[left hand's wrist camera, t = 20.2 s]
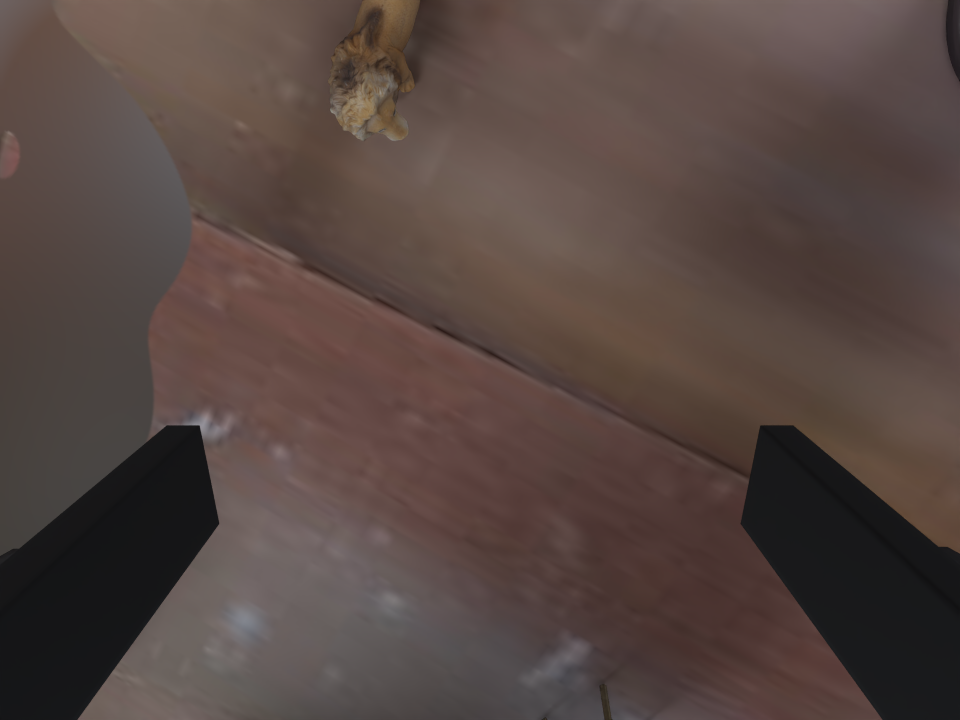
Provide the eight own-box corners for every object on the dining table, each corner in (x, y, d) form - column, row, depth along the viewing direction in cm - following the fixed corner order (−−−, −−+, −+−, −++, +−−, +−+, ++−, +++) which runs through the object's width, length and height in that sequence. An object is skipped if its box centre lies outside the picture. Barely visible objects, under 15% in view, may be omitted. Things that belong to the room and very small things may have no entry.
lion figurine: (415, 156, 38) (396, 153, 29) (341, 131, 37) (300, 121, 29) (479, -88, 33) (478, -175, 24) (395, -121, 32) (365, -221, 24)
